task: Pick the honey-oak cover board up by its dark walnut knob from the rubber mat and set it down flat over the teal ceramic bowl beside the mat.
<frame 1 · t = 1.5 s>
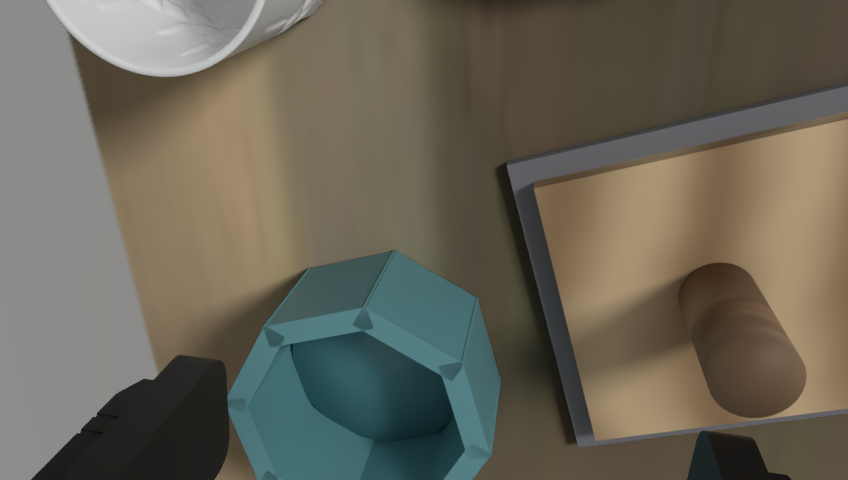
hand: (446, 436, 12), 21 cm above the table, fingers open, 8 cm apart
mat: (710, 281, 32), on the table
bowl: (384, 356, 37), on the table
lid: (713, 286, 32), point 1 cm above the table, touching mat
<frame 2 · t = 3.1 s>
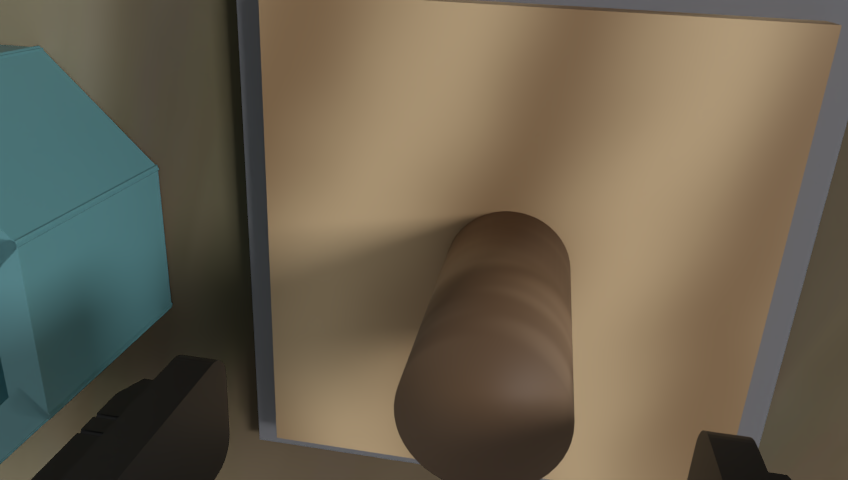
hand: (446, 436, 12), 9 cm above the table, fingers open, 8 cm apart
mat: (511, 246, 20), on the table
bowl: (3, 220, 23), on the table
lid: (510, 254, 20), point 1 cm above the table, touching mat
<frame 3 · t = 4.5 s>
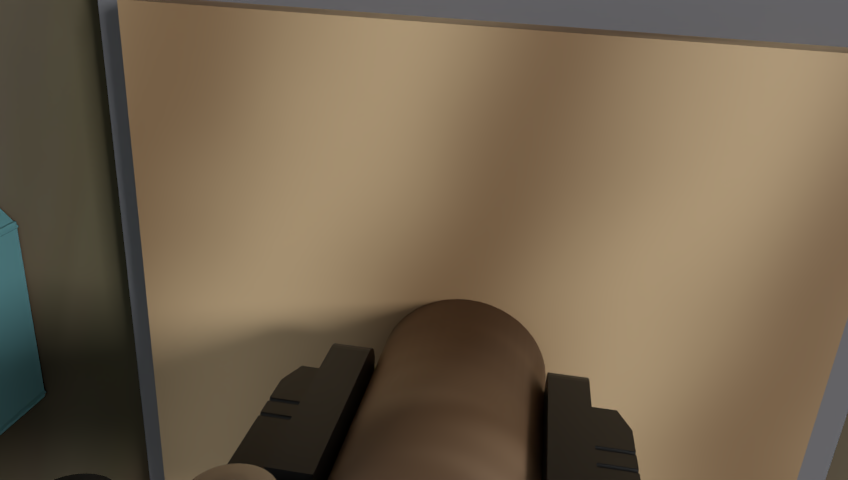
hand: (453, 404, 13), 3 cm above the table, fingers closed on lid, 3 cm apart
mat: (470, 333, 15), on the table
lid: (467, 347, 15), point 1 cm above the table, touching gripper, mat
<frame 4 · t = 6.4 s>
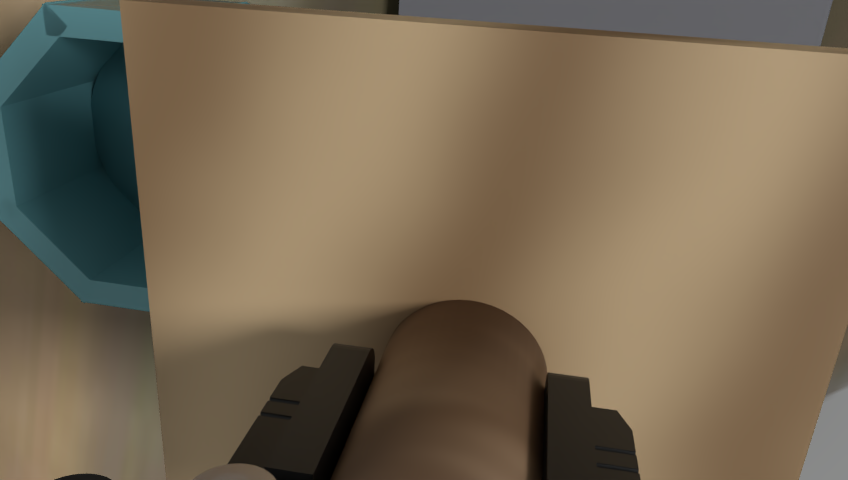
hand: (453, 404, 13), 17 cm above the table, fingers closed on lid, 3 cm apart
mat: (581, 150, 28), on the table
bowl: (201, 132, 31), on the table
lid: (469, 348, 15), point 15 cm above the table, touching gripper
when the fingers open (9 cm above the table, at t = 8.5 s): lid drops 1 cm, resting on bowl.
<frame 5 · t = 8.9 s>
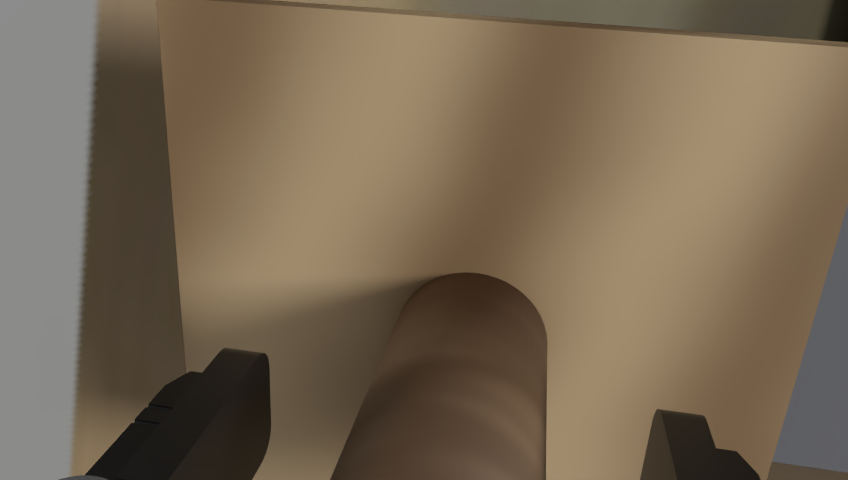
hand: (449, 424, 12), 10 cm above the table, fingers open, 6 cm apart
lid: (475, 319, 16), point 6 cm above the table, touching bowl
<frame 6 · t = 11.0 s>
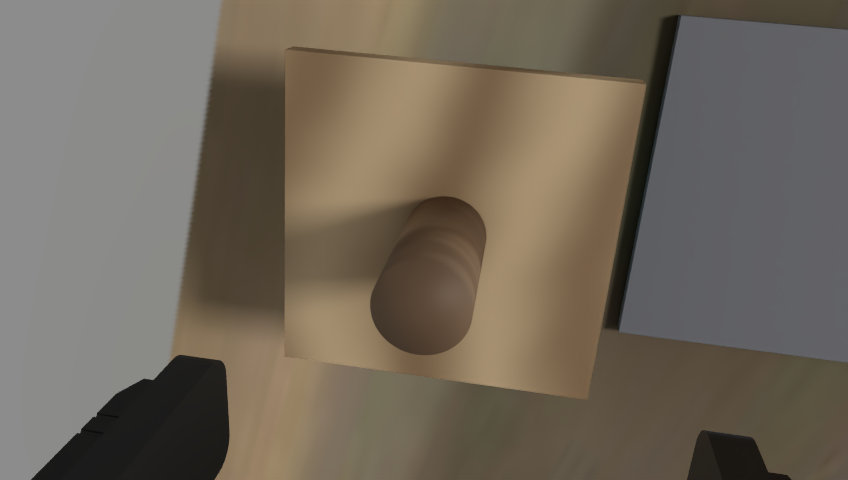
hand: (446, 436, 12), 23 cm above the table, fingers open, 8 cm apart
mat: (814, 202, 33), on the table
lid: (448, 226, 29), point 6 cm above the table, touching bowl
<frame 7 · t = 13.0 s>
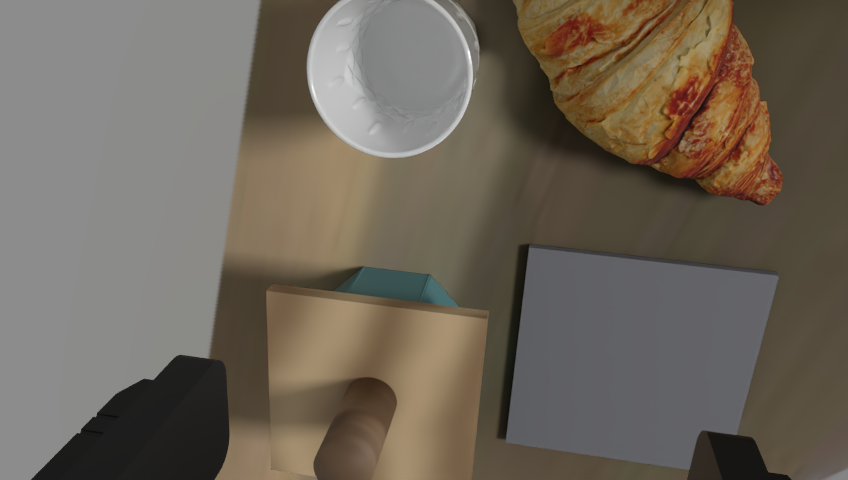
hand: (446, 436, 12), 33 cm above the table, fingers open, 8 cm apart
mat: (630, 361, 48), on the table
croissant: (639, 52, 41), on the table
bowl: (393, 342, 50), on the table
white cup: (424, 49, 43), on the table
lid: (374, 390, 45), point 6 cm above the table, touching bowl
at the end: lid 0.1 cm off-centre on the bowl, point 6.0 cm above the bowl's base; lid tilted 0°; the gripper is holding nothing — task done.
